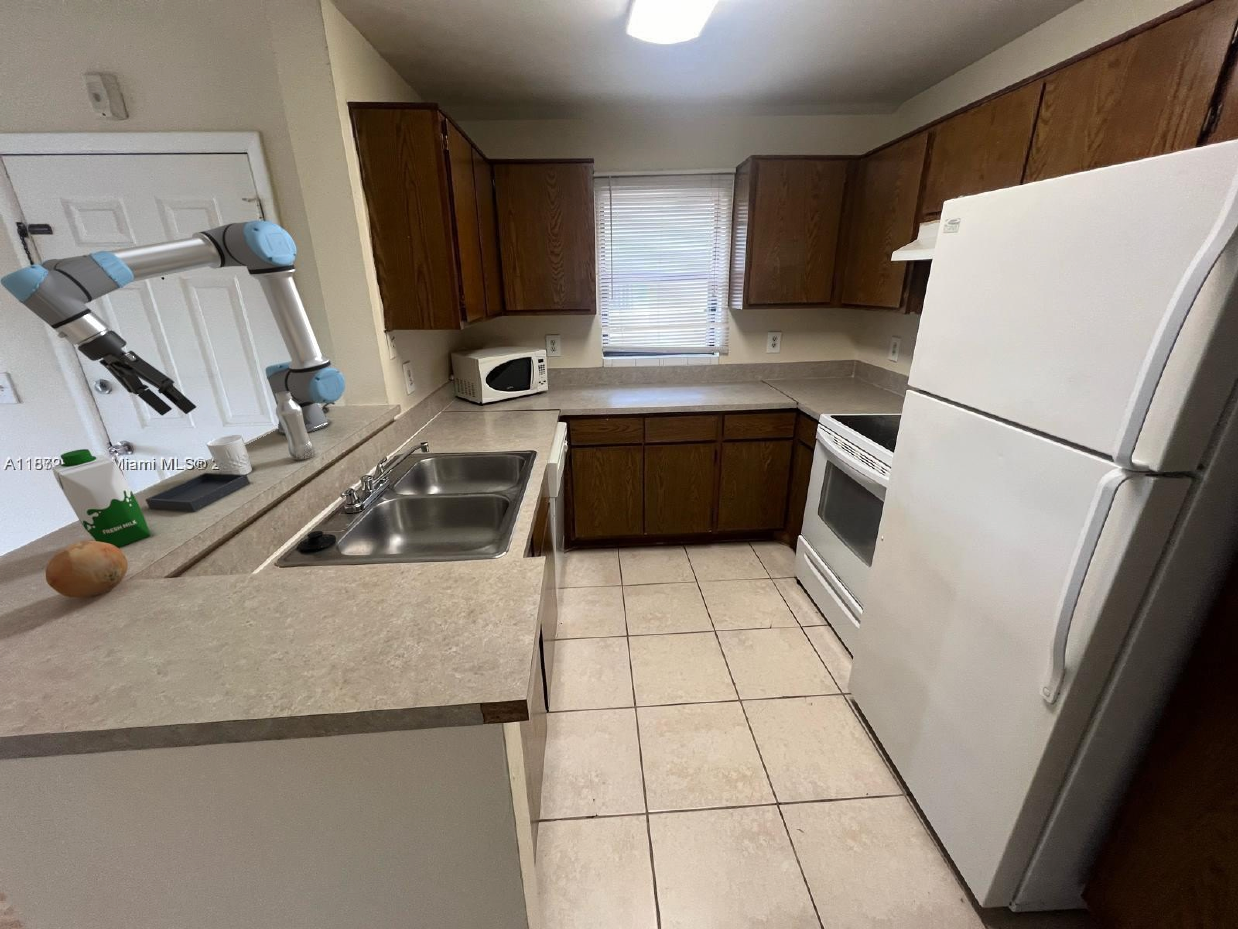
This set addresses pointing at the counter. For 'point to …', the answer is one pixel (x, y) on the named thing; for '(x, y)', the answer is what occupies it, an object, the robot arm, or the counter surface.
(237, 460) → the white cup
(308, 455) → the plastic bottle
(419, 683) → the counter surface
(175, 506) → the baking tray
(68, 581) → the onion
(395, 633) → the counter surface
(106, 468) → the milk carton
